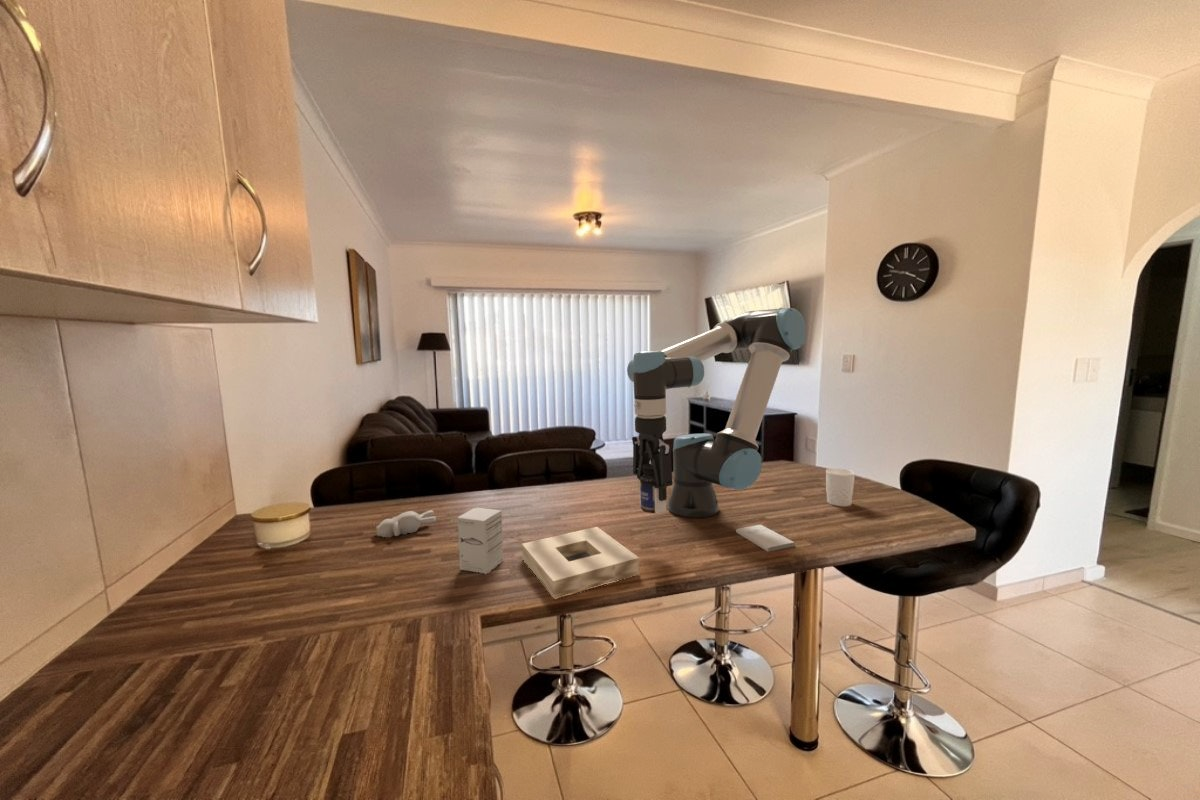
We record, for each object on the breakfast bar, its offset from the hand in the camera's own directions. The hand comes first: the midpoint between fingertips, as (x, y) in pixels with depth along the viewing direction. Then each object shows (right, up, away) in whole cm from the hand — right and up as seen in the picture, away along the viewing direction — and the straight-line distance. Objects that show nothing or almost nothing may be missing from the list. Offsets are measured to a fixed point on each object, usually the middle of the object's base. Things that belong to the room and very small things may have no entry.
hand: (652, 508), depth 111 cm
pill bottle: (0, -1, 0) cm, 1 cm away
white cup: (+62, -6, +29) cm, 68 cm away
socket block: (-18, -12, -8) cm, 23 cm away
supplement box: (-40, -12, -6) cm, 43 cm away
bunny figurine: (-67, -10, +15) cm, 69 cm away
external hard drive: (+29, -10, +5) cm, 31 cm away
